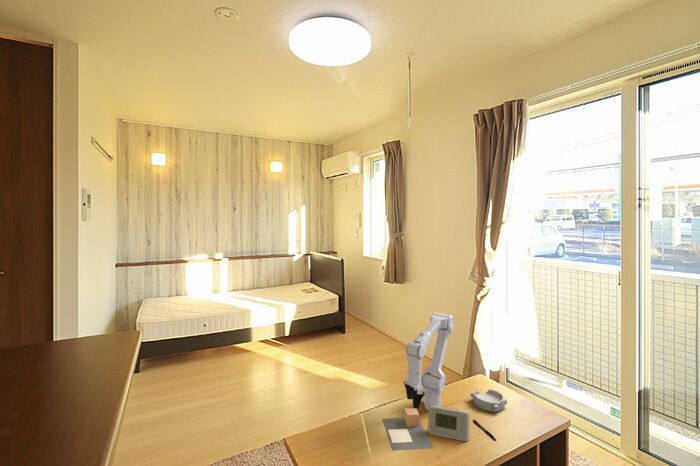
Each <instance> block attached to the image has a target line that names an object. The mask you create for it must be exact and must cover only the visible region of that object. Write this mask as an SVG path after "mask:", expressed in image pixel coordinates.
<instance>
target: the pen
mask: <svg viewBox="0 0 700 466" xmlns="http://www.w3.org/2000/svg"><path fill="white" fill-rule="evenodd" d="M472 422H473V424H474V425H475V426H476V427H477V428H480V429H481V430H482V431H484V433H485V434H486V435H488V436H489V437H490V438H491V439H493V440H494V441H497V438H496V437H495V436H494V435H493V434H492V433H491V432H490V431H488V430H487V429H486V428H484V426H482V425H481V424H480V423H479V422H478V421H477V420H476V419H473V420H472Z"/></svg>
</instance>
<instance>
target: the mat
mask: <svg viewBox="0 0 700 466" xmlns="http://www.w3.org/2000/svg"><path fill="white" fill-rule="evenodd" d="M382 422H383V426H384V428H385V432H386V435H387V439H388V441H389V445H390V447H391V451H406V450H409V451H410V450H424V449H434V446H433V444H432V442H431V439H430V438H429V436H428V434H427V432H426V429H425V428H424V426H423V424H422V423H421V420H420V419H419V426H414V427H407V424H406V422H405V420H404V417H391V418H390V417H389V418H382Z"/></svg>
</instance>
